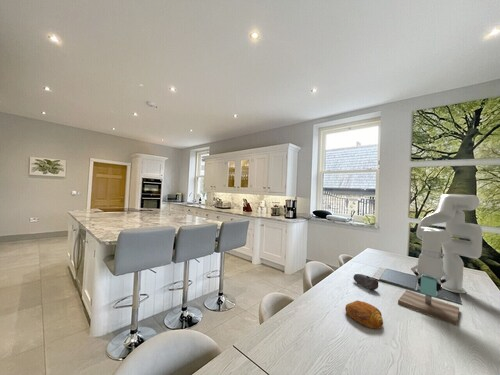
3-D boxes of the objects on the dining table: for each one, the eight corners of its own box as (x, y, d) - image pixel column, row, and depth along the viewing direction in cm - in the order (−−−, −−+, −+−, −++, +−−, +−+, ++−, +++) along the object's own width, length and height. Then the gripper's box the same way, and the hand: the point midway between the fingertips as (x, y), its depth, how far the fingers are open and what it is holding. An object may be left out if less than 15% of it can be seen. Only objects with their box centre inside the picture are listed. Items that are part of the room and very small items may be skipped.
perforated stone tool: (350, 281, 135) (351, 271, 135) (356, 280, 138) (356, 270, 138) (373, 292, 122) (374, 280, 122) (379, 291, 124) (379, 279, 124)
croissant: (370, 338, 86) (373, 321, 85) (339, 312, 100) (341, 297, 99) (390, 328, 93) (394, 312, 92) (359, 305, 107) (361, 290, 106)
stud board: (406, 293, 123) (407, 274, 123) (459, 311, 107) (460, 289, 107) (398, 303, 111) (399, 282, 111) (456, 325, 95) (457, 301, 95)
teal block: (422, 288, 113) (423, 273, 113) (437, 293, 109) (438, 277, 109) (420, 292, 109) (421, 276, 109) (435, 297, 105) (436, 280, 105)
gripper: (454, 256, 105) (452, 292, 105) (411, 248, 118) (409, 280, 118) (453, 259, 100) (451, 297, 100) (408, 250, 113) (406, 283, 113)
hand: (428, 287), depth 109 cm, fingers open, 6 cm apart
